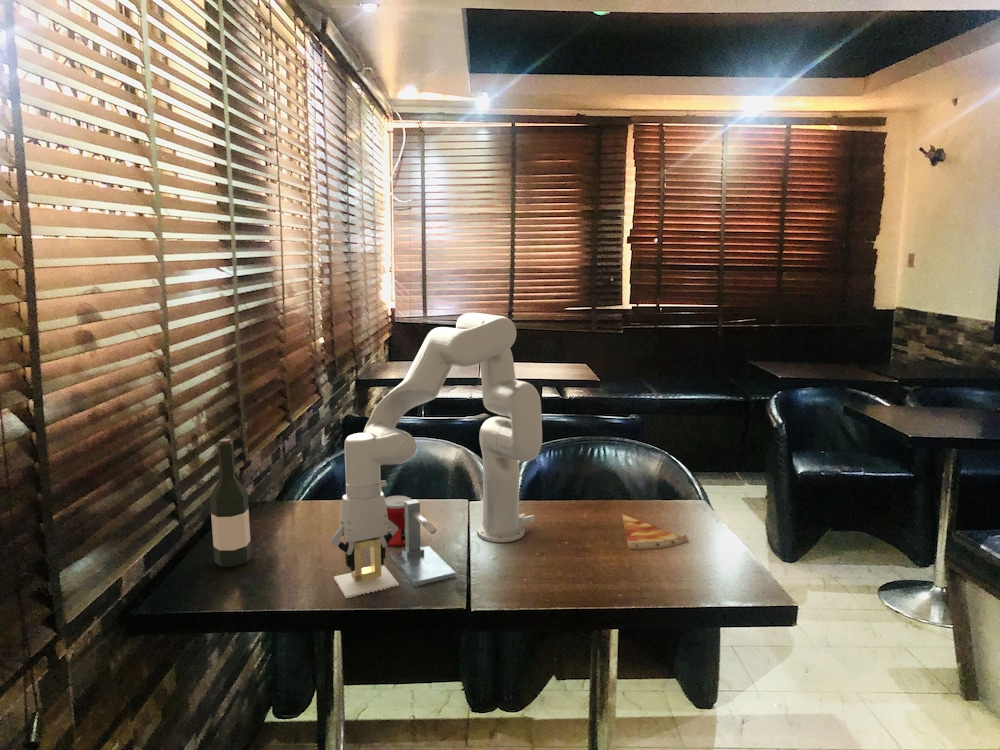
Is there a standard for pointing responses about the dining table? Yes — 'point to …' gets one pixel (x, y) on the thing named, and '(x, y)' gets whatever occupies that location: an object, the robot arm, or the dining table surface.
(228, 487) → the wine bottle
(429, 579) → the stand
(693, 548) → the dining table surface
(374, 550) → the rectangular frame block
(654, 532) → the pizza slice
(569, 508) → the dining table surface
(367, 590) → the pad
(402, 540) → the canned food
